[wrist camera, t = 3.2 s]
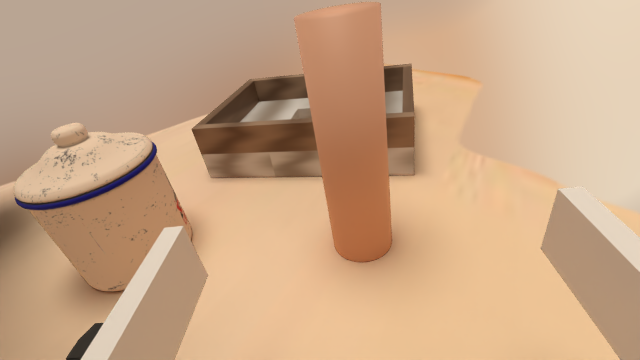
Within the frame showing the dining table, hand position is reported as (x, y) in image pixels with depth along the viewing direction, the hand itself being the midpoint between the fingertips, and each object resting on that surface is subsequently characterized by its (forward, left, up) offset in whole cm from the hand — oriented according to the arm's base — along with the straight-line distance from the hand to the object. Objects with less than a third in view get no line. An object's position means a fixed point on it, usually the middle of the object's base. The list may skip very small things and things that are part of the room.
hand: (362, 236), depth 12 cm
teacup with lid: (-22, +8, -10) cm, 25 cm away
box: (-9, +27, -10) cm, 30 cm away
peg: (-2, +10, -10) cm, 14 cm away
